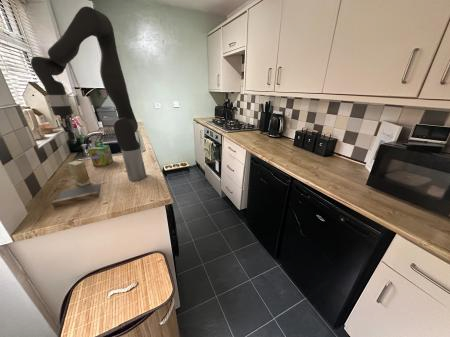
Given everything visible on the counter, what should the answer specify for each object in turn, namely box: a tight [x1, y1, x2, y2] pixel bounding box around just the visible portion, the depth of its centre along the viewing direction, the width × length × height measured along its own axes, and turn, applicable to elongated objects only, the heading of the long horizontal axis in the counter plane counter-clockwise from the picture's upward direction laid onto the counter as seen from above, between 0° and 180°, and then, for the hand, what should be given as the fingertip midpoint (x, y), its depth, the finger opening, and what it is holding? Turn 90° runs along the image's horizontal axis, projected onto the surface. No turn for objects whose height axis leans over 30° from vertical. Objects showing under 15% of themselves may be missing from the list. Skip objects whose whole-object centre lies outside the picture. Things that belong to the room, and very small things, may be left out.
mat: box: [56, 183, 101, 200], centre depth 87 cm, size 16×12×1 cm
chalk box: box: [88, 141, 114, 167], centre depth 119 cm, size 9×9×15 cm
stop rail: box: [51, 191, 99, 208], centre depth 81 cm, size 16×2×2 cm, turn 119°
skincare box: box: [67, 160, 92, 187], centre depth 94 cm, size 6×4×12 cm
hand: (72, 139), depth 95 cm, fingers closed
